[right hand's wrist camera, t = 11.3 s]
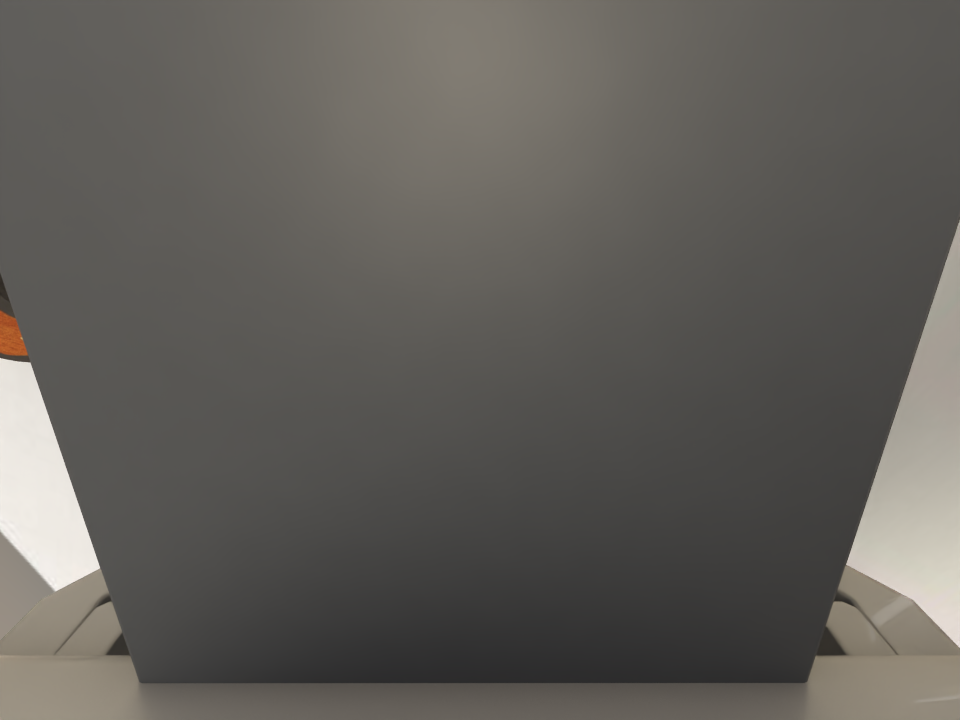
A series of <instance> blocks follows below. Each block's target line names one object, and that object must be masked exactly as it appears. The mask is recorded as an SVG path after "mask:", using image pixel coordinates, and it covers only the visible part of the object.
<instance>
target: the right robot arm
mask: <svg viewBox="0 0 960 720" xmlns="http://www.w3.org/2000/svg"><path fill="white" fill-rule="evenodd" d="M0 720H960V648H959V647H958V646H957V645H956V644H955V643H954V642H953V641H952V640H951V639H950V638H949V637H948V636H947V635H946V634H945V633H944V632H943V631H942V630H941V629H940V628H939V626H938V625H937V624H936V623H935V622H934V621H933V620H932V619H931V618H930V617H929V616H928V615H927V614H926V613H925V612H924V611H923V610H922V609H921V608H920V607H919V606H918V605H917V604H916V603H915V602H914V601H913V600H912V599H910V598H908V597H906V596H904V595H902V594H900V593H898V592H897V591H895V590H893V589H891V588H889V587H887V586H885V585H883V584H881V583H879V582H878V581H876V580H874V579H872V578H870V577H868V576H866V575H864V574H862V573H861V572H859V571H857V570H855V569H853V568H851V567H849V566H847V565H846V566H845V569H844V572H843V575H842V578H841V581H840V584H839V587H838V590H837V593H836V596H835V599H834V602H833V605H832V608H831V611H830V614H829V617H828V620H827V623H826V626H825V629H824V632H823V636H822V639H821V642H820V645H819V648H818V651H817V654H816V657H815V660H814V663H813V666H812V669H811V672H810V675H809V678H808V681H807V682H805V683H141V682H139V680H138V677H137V674H136V671H135V668H134V665H133V662H132V659H131V656H130V653H129V650H128V647H127V645H126V642H125V639H124V636H123V633H122V630H121V627H120V624H119V621H118V618H117V615H116V612H115V609H114V606H113V603H112V600H111V597H110V594H109V592H108V589H107V586H106V583H105V580H104V577H103V574H102V571H101V568H100V569H98V570H96V571H94V572H93V573H91V574H89V575H87V576H85V577H83V578H81V579H79V580H77V581H75V582H73V583H71V584H70V585H68V586H66V587H64V588H62V589H60V590H58V591H56V592H54V593H52V594H50V595H49V596H47V597H45V598H43V599H41V600H40V601H39V602H38V603H37V604H36V605H35V606H34V607H33V608H32V609H31V610H30V611H29V612H28V613H27V614H26V615H25V616H24V617H23V618H22V619H21V620H20V621H19V622H18V623H17V624H16V625H15V626H14V627H13V628H12V629H11V630H10V631H9V632H8V633H7V634H6V635H5V636H4V637H3V638H2V639H1V640H0Z"/></svg>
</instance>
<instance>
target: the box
mask: <svg viewBox="0 0 960 720" xmlns="http://www.w3.org/2000/svg"><path fill="white" fill-rule="evenodd" d="M959 220H960V0H0V274H1V277H2V280H3V283H4V286H5V289H6V291H7V294H8V297H9V300H10V303H11V306H12V309H13V312H14V315H15V318H16V321H17V324H18V327H19V330H20V333H21V336H22V339H23V341H24V344H25V347H26V350H27V353H28V356H29V359H30V362H31V365H32V368H33V371H34V374H35V377H36V380H37V383H38V386H39V389H40V391H41V394H42V397H43V400H44V403H45V406H46V409H47V412H48V415H49V418H50V421H51V424H52V427H53V430H54V433H55V436H56V439H57V442H58V444H59V447H60V450H61V453H62V456H63V459H64V462H65V465H66V468H67V471H68V474H69V477H70V480H71V483H72V486H73V489H74V492H75V494H76V497H77V500H78V503H79V506H80V509H81V512H82V515H83V518H84V521H85V524H86V527H87V530H88V533H89V536H90V539H91V542H92V544H93V547H94V550H95V553H96V556H97V559H98V562H99V565H100V568H101V571H102V574H103V577H104V580H105V583H106V586H107V589H108V592H109V594H110V597H111V600H112V603H113V606H114V609H115V612H116V615H117V618H118V621H119V624H120V627H121V630H122V633H123V636H124V639H125V642H126V645H127V647H128V650H129V653H130V656H131V659H132V662H133V665H134V668H135V671H136V674H137V677H138V680H139V682H141V683H805V682H807V681H808V678H809V675H810V672H811V669H812V666H813V663H814V660H815V657H816V654H817V651H818V648H819V645H820V642H821V639H822V636H823V632H824V629H825V626H826V623H827V620H828V617H829V614H830V611H831V608H832V605H833V602H834V599H835V596H836V593H837V590H838V587H839V584H840V581H841V578H842V575H843V572H844V569H845V566H846V563H847V560H848V557H849V554H850V551H851V548H852V545H853V541H854V538H855V535H856V532H857V529H858V526H859V523H860V520H861V517H862V514H863V511H864V508H865V505H866V502H867V499H868V496H869V493H870V490H871V487H872V484H873V481H874V478H875V475H876V472H877V469H878V466H879V463H880V460H881V457H882V453H883V450H884V447H885V444H886V441H887V438H888V435H889V432H890V429H891V426H892V423H893V420H894V417H895V414H896V411H897V408H898V405H899V402H900V399H901V396H902V393H903V390H904V387H905V384H906V381H907V378H908V375H909V372H910V369H911V365H912V362H913V359H914V356H915V353H916V350H917V347H918V344H919V341H920V338H921V335H922V332H923V329H924V326H925V323H926V320H927V317H928V314H929V311H930V308H931V305H932V302H933V299H934V296H935V293H936V290H937V287H938V284H939V281H940V278H941V274H942V271H943V268H944V265H945V262H946V259H947V256H948V253H949V250H950V247H951V244H952V241H953V238H954V235H955V232H956V229H957V226H958V223H959Z"/></svg>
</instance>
